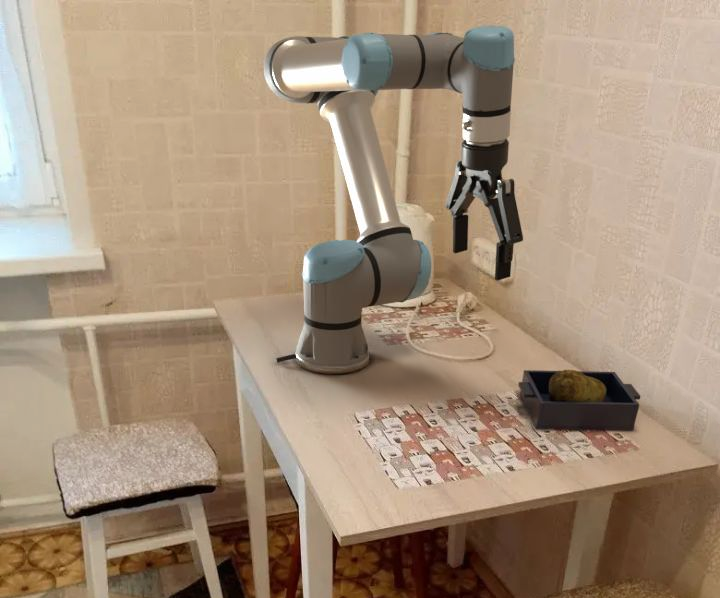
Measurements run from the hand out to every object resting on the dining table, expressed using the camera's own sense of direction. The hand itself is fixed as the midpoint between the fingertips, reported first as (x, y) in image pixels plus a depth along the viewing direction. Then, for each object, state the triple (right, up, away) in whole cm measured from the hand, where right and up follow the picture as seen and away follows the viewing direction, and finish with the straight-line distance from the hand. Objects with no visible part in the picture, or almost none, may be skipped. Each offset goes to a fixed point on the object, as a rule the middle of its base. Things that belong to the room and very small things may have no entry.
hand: (480, 264), depth 132 cm
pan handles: (+18, -23, +2) cm, 29 cm away
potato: (+18, -26, +3) cm, 32 cm away
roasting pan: (+18, -26, +4) cm, 32 cm away
